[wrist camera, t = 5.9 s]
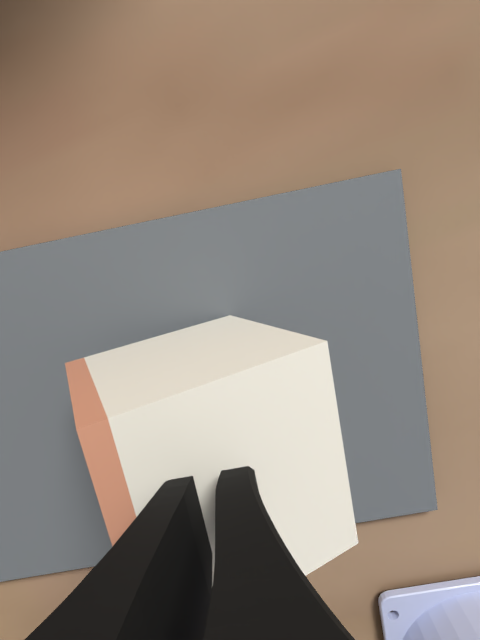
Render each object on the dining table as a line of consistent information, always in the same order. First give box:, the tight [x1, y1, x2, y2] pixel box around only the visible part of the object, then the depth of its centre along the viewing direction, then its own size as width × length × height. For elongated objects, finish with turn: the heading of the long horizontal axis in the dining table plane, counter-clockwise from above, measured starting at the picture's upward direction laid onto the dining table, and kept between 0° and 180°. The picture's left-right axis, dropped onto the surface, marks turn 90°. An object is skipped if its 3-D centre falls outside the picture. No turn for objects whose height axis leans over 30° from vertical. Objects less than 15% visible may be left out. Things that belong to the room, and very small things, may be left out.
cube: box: [65, 315, 358, 586], centre depth 12 cm, size 6×6×6 cm
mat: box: [0, 169, 437, 582], centre depth 16 cm, size 14×20×1 cm
